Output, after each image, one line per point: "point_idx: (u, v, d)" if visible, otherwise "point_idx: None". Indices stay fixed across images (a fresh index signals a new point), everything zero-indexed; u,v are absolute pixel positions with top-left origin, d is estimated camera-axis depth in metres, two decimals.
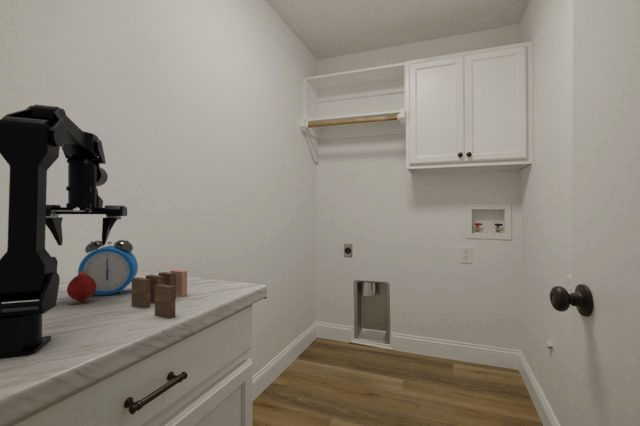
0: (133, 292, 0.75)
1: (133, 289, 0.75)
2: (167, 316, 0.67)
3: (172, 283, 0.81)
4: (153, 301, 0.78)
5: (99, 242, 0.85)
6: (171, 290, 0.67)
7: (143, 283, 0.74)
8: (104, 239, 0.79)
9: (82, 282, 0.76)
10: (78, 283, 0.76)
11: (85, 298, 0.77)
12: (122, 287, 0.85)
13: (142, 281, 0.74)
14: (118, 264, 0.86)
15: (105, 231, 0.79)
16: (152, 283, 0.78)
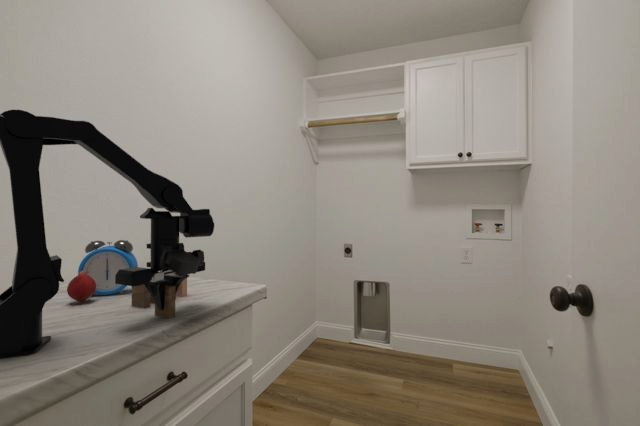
0: (133, 292, 0.75)
1: (133, 289, 0.75)
2: (167, 316, 0.67)
3: None
4: (153, 301, 0.78)
5: (99, 242, 0.85)
6: (171, 290, 0.67)
7: None
8: None
9: (82, 282, 0.76)
10: (78, 283, 0.76)
11: (85, 298, 0.77)
12: (122, 287, 0.85)
13: None
14: (118, 264, 0.86)
15: None
16: None
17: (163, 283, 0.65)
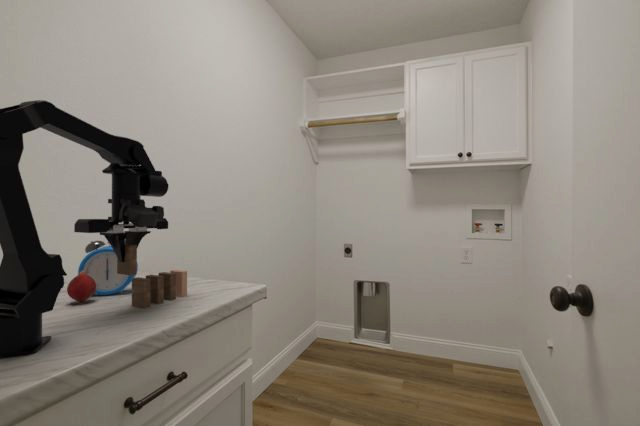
0: (133, 292, 0.75)
1: (133, 289, 0.75)
2: (128, 273, 0.70)
3: (172, 283, 0.81)
4: (153, 301, 0.78)
5: (99, 242, 0.85)
6: (132, 248, 0.71)
7: (143, 283, 0.74)
8: None
9: (82, 282, 0.76)
10: (78, 283, 0.76)
11: (85, 298, 0.77)
12: (122, 287, 0.85)
13: (142, 281, 0.74)
14: None
15: None
16: (152, 283, 0.78)
17: (122, 235, 0.69)
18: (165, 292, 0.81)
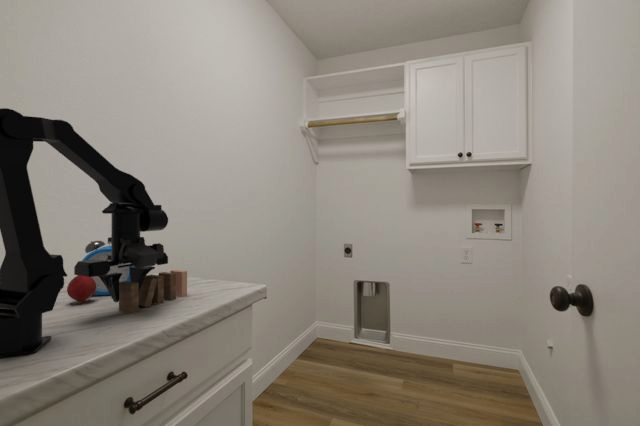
0: None
1: None
2: (130, 311, 0.70)
3: (172, 283, 0.81)
4: (153, 301, 0.78)
5: (99, 242, 0.85)
6: (134, 286, 0.70)
7: (150, 281, 0.76)
8: None
9: (82, 282, 0.76)
10: (78, 283, 0.76)
11: (85, 298, 0.77)
12: None
13: (150, 279, 0.76)
14: None
15: None
16: None
17: (116, 276, 0.67)
18: (165, 292, 0.81)
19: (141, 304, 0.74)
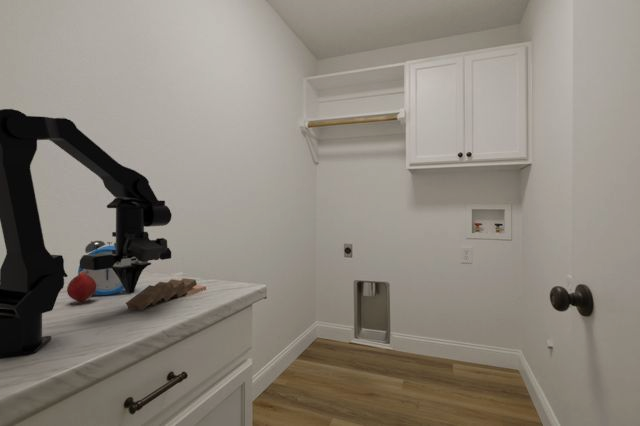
0: None
1: None
2: (138, 304, 0.72)
3: (189, 285, 0.86)
4: None
5: (99, 242, 0.85)
6: (160, 291, 0.76)
7: (168, 285, 0.80)
8: None
9: (82, 282, 0.76)
10: (78, 283, 0.76)
11: (85, 298, 0.77)
12: (122, 287, 0.85)
13: (169, 283, 0.81)
14: None
15: None
16: (172, 283, 0.84)
17: (130, 268, 0.70)
18: None
19: None
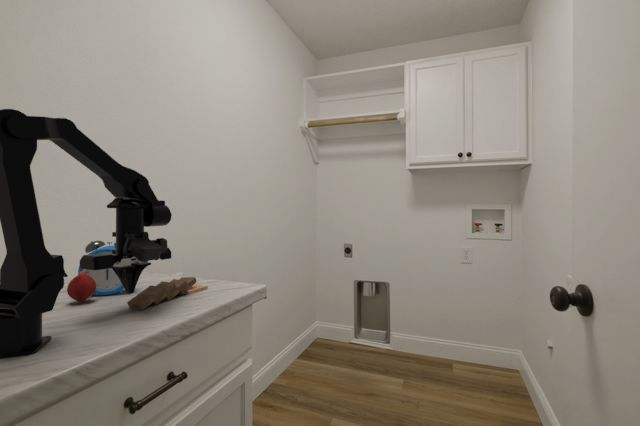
0: None
1: None
2: (139, 303, 0.72)
3: (190, 283, 0.88)
4: None
5: (99, 242, 0.85)
6: (161, 291, 0.77)
7: (171, 284, 0.81)
8: None
9: (82, 282, 0.76)
10: (78, 283, 0.76)
11: (85, 298, 0.77)
12: (122, 287, 0.85)
13: (171, 283, 0.81)
14: None
15: None
16: (175, 283, 0.85)
17: (130, 268, 0.70)
18: None
19: None
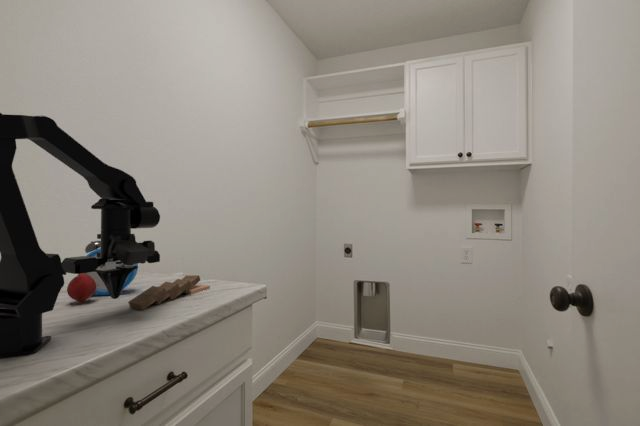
0: None
1: None
2: (140, 303, 0.72)
3: (194, 281, 0.89)
4: None
5: (99, 242, 0.85)
6: (162, 291, 0.77)
7: (174, 285, 0.81)
8: None
9: (82, 282, 0.76)
10: (78, 283, 0.76)
11: (85, 298, 0.77)
12: None
13: (175, 283, 0.82)
14: None
15: None
16: (179, 283, 0.85)
17: (114, 272, 0.67)
18: None
19: None
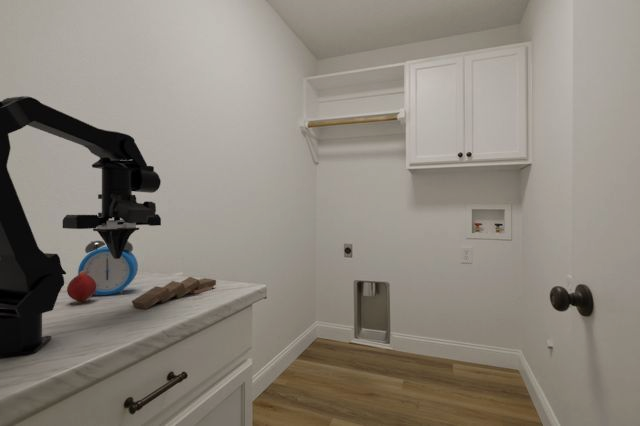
0: None
1: (165, 286, 0.83)
2: (144, 302, 0.73)
3: (209, 283, 0.91)
4: None
5: (99, 242, 0.85)
6: (165, 291, 0.78)
7: (179, 284, 0.82)
8: None
9: (82, 282, 0.76)
10: (78, 283, 0.76)
11: (85, 298, 0.77)
12: (122, 287, 0.85)
13: (180, 283, 0.83)
14: (118, 264, 0.86)
15: None
16: (189, 281, 0.87)
17: (116, 231, 0.67)
18: None
19: None
